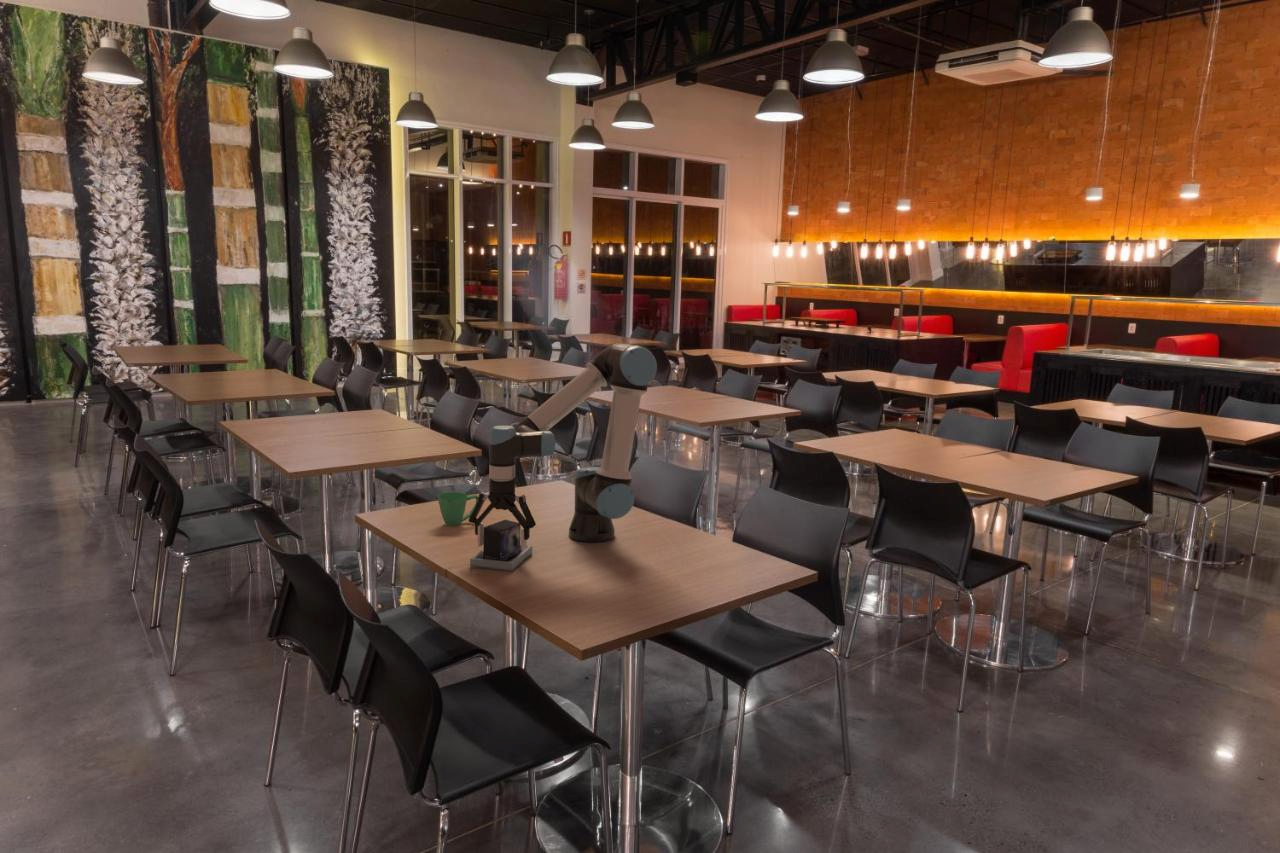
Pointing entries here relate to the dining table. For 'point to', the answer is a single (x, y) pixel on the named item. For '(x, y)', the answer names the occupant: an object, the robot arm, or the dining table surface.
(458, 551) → the dining table surface
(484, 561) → the tray
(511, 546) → the small box
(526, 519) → the robot arm
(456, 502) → the mug
